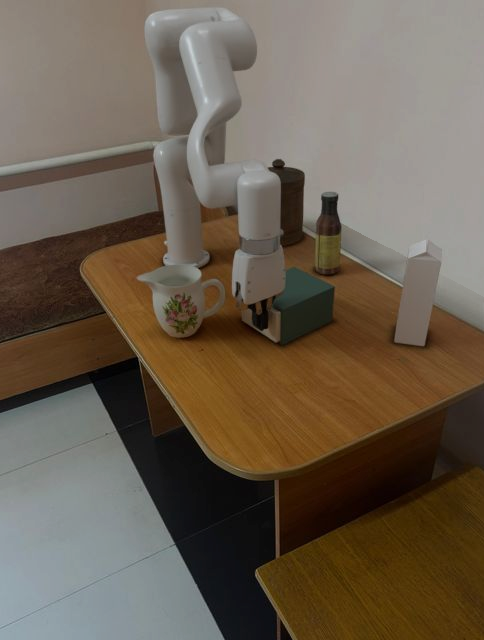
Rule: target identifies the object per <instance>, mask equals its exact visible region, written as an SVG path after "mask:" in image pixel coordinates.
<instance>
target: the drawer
mask: <svg viewBox="0 0 484 640" xmlns="http://www.w3.org/2000/svg"><path fill="white" fill-rule="evenodd" d="M241 321H242V322H244V323H245V324H247V325H248V326H250V327H251V328H253V329H254V330H256V331H257V332H259V333H260V334H262V335H264V336H265V337H267V338H268V339H269V340H271V341H272V342H274V343H278V341H280V328H281V311H279V310H277V309H276V308H274V307H271V310H270V311H268V329H264V330H263V331H260V330H259V329H258V328H256V327H255V326H253V324H252V310H250V309H246V310H241Z"/></svg>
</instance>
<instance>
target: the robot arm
mask: <svg viewBox="0 0 484 640" xmlns="http://www.w3.org/2000/svg"><path fill="white" fill-rule="evenodd" d="M143 32H144V33H143V35H144V40H145V46H146V49H147V52H148V55H149V58H150V60H151V63H152V67H153V70H154V76H155V77H154V78H155V93H156V94H155V95H156V111H157V121H158V126H159V129H160V130H161V132H162V133H163V134H164V135H167V136H170V137H175V138H168V139H165V140H163V141H160V142H159V143H157V145H156V146H155V147H154V149H153V154H152V158H153V164H154V167H155V171H156V174H157V178H158V183H159V188H160V194H161V202H162V210H163V220H164V228H165V236H166V240H164V241H163V245H164V246H166V247H167V252H166V253H165V254H164V255H163V257H162V262H163V264H164V266H168V265H176V264H184V265H191V266H194V267H196V268H198V269H199V268H202V267H204V266H206V265H207V264H209V262H210V258H211V257H210V253H209V252H208V251H207V250H206V249H204V239H203V225H202V211H201V210H202V209H201V205H202V206H203V207H205V208H206V209H211V210H217V209H222V208H226V207H232V206H237V219H238V220H237V223H238V225H237V227H238V248H237V249H236V250H235V251H234V257H233V262H232V270H231V295H232V297H233V298H236V304H235V307H236V308H237V309H238V310H240V311H242V310H246V309H250V310H252V324H253V326H255V327H256V328H258V329H259V330H260V331H263V330H264V329H268V311H270V310H271V307H272V303H273V302H274V300H275V298H277V297H279V296H280V295H282V294H283V290H284V288H285V281H286V272H285V270H286V261H285V254H284V249H283V246H281V245H280V237H281V236H283V235H284V232H283V230H282V229H280V209H281V182H280V178H279V177H278V175H277V174H275V173H273V172H270V171H269V169H268V168H267V167H268V166H267V164H265V163H264V162H263V161H262V160H260V159H256V158H255V159H253V158H252V159H246V160H240V161H231V162H226V146H227V145H226V143H227V122H228V121H230V120H232V119H233V118H234V117H235V116H236V115H237V114H238V113H239V112H240V111H241V109H242V106H243V105H242V104H243V101H242V97H241V94H240V93H241V92H240V90H239V86H238V84H237V81H236V77H235V72H241V71H248V70H250V69H251V68H253V66H254V65H255V63H256V60H257V56H258V43H257V39H256V36H255V33H254V31H253V29H252V27H251V25H250V24H249V23H248V21H246V20H245V19H244V18H243V17H241V16H239V15H238V14H236V13H235V12H233V11H231V10H230V9H229V8H226V7H220V6H213V7H212V6H211V7H210V6H209V7H195V8H194V7H193V8H190V7H189V8H174V9H173V8H172V9H164V10H159V11H155V12H153V13H151V14H149V15H148V17H147V18H146V20H145V23H144V31H143ZM190 179H191V182H190V181H189V180H190ZM191 183H192V184H191Z"/></svg>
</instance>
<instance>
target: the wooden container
mask: <svg viewBox="0 0 484 640" xmlns="http://www.w3.org/2000/svg"><path fill="white" fill-rule="evenodd" d="M285 165H286V162H285V161H284V160H283V159H282V158H275V160H274V159H273V161H272V162H271V166H267V168H268V169H269V171H270V172H273V173H275V174H277V175H278V177H279V178H280V182H281V209H280V229H282V230H283V232H284V235H283V236H281V237H280V245H281V246H282V247H285V246H291V245H294V244H296V243H299V242H300V241H301V240H302V238H303V231H304V229H303V228H304V209H305V208H304V207H305V205H304V202H305V201H304V199H305V184H306V183H305V182H306V174H305V172H304V171H303V170H302V169H299V168H296V167H291V166H285Z"/></svg>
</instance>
